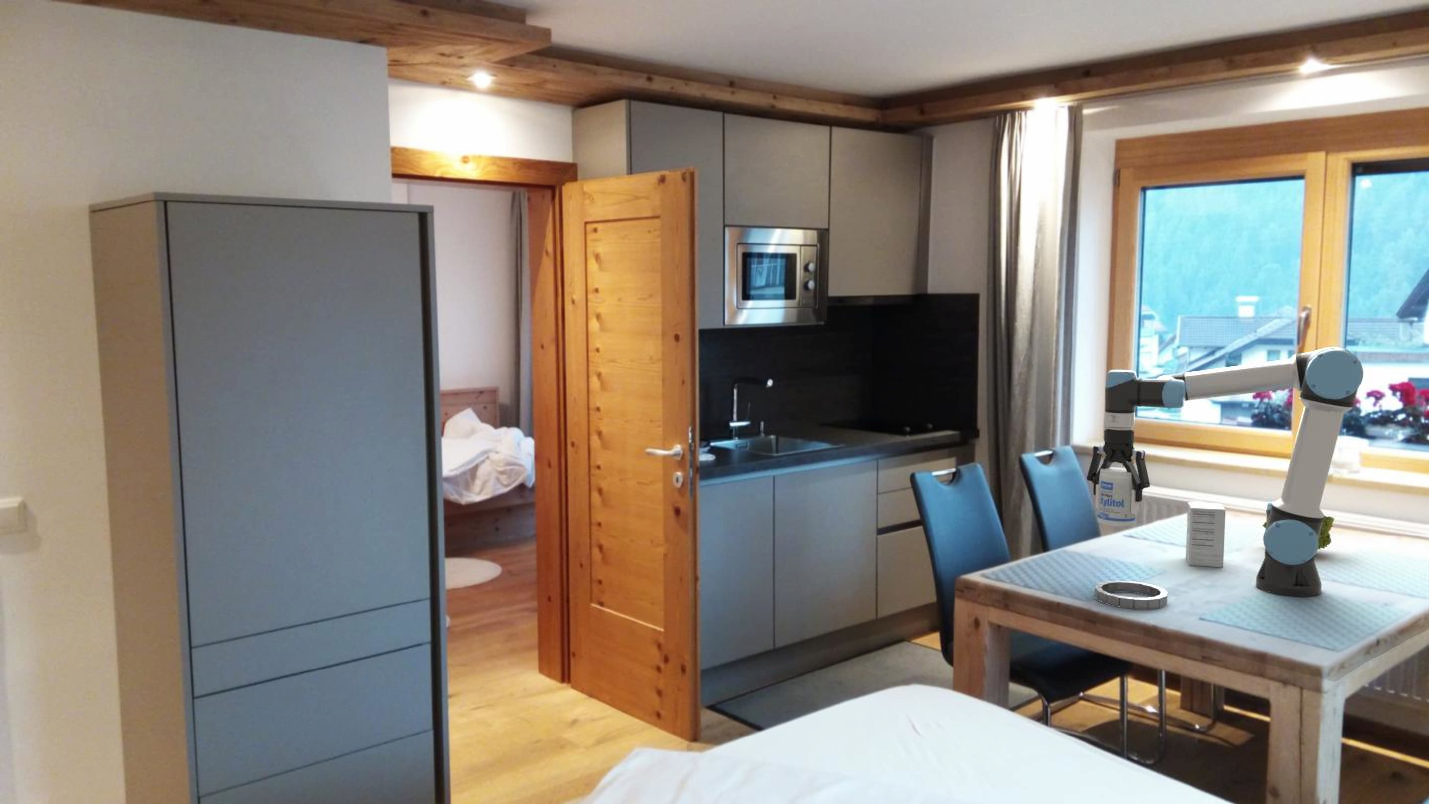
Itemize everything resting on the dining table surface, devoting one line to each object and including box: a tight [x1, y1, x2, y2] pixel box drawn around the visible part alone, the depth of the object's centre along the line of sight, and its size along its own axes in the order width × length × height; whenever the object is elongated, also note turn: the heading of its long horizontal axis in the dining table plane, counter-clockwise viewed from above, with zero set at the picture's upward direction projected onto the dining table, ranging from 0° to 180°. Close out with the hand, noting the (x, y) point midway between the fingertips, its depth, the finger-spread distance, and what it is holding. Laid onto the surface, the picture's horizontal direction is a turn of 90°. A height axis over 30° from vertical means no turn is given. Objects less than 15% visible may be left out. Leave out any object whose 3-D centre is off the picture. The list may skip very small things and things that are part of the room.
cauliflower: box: [1262, 515, 1335, 550], centre depth 314 cm, size 18×16×16 cm
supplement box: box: [1185, 501, 1227, 568], centre depth 303 cm, size 10×9×17 cm
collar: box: [1094, 580, 1169, 610], centre depth 268 cm, size 17×17×2 cm
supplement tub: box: [1096, 466, 1136, 528], centre depth 283 cm, size 10×10×15 cm
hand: (1116, 510), depth 283 cm, fingers closed on supplement tub, 10 cm apart
